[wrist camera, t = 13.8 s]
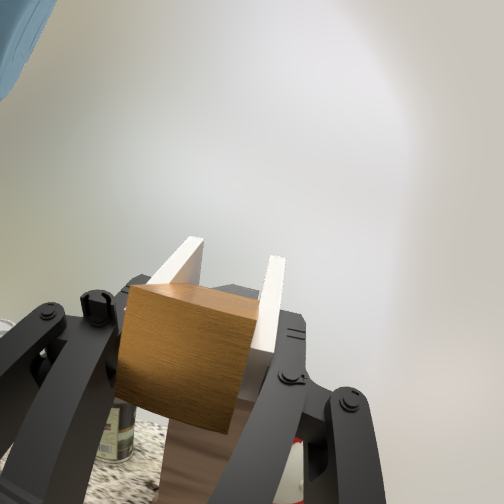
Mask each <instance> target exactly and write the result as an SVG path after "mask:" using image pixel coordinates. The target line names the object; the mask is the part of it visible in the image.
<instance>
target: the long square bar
mask: <svg viewBox="0 0 504 504" xmlns="http://www.w3.org/2000/svg"><path fill="white" fill-rule="evenodd" d="M258 294H259V291H258V290H254V289H250V288H246V287H242V286H238V285H234V284H231V285H225V286H220V287H215V288H206V287H203V286H199V285H195V284H192V283H171V284H169V283H167V284H143V285H130V289H129V294H128V299H127V305H126V310H125V316H124V321H123V327H122V334H121V340H120V347H119V354H118V362H117V370H116V379H115V389H114V397H116V398H118V399H120V400H123V401H125V402H127V403H130V404H132V405H135V406H137V407H140V408H142V409H145V410H148V411H150V412H153V413H155V414H158V415H161V416H164V417H167V418H169V419H172V420H175V421H178V422H182V423H185V424H188V425H191V426H194V427H198V428H201V429H205V430H209V431H212V432H216V433H220V434H224V435H227V434H228V430H229V426H230V423H231V419H232V415H233V412H234V408H235V404H236V401H237V397H238V393H239V389H240V385H241V382H242V378H243V374H244V370H245V366H246V362H247V359H248V355H249V351H250V347H251V343H252V339H253V335H254V331H255V327H256V323H257V318H258V312H259V302H260V301H258V300H257V299H258Z"/></svg>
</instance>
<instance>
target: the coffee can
mask: <svg viewBox="0 0 504 504" xmlns="http://www.w3.org/2000/svg"><path fill="white" fill-rule="evenodd" d="M136 407H137V406H135V405H132V404H130V403H127V402H125V401H123V400H120V399H118V398H116V397H115V399H114V402H113V405H112V408H111V411H110V414H109V417H108V420H107V423H106V426H105V429H104V432H103V435H102V438H101V441H100V444H99V447H98V451H97V454H96V457H95V459H97V460H100V461H103V462H107V463H120V462H124V461H126V460H128V459H129V458H130V457H131V456H132V454H133V438H134V426H135V417H136Z"/></svg>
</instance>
